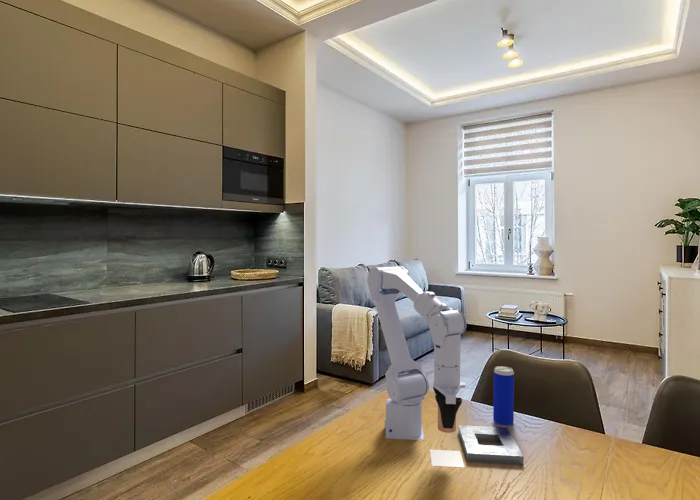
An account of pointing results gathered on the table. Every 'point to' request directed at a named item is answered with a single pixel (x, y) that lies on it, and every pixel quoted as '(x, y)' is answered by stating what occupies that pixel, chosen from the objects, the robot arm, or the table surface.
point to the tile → (446, 458)
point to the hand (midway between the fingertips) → (446, 423)
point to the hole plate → (489, 453)
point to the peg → (440, 426)
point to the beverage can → (503, 396)
